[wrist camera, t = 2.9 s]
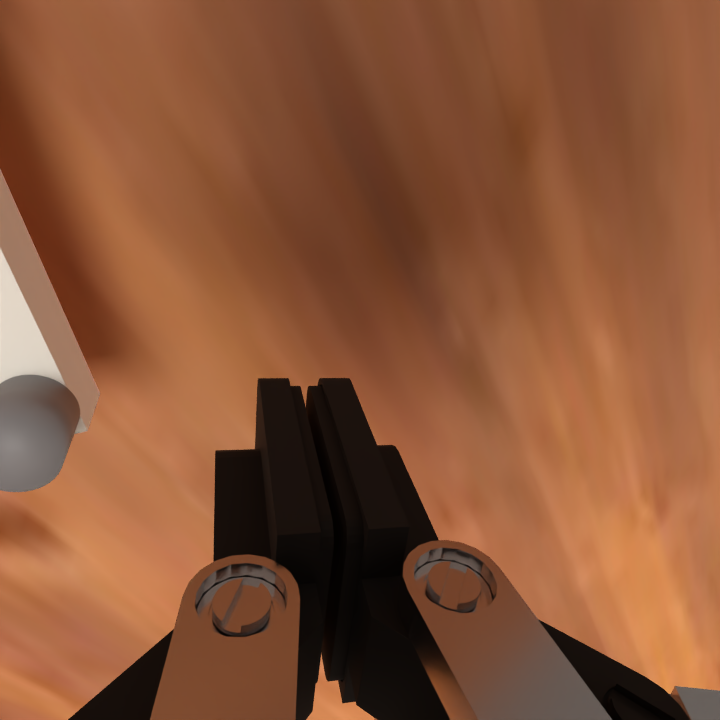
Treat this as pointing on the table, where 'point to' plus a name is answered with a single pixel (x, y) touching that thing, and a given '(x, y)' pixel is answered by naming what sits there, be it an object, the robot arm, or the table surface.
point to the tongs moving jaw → (35, 364)
